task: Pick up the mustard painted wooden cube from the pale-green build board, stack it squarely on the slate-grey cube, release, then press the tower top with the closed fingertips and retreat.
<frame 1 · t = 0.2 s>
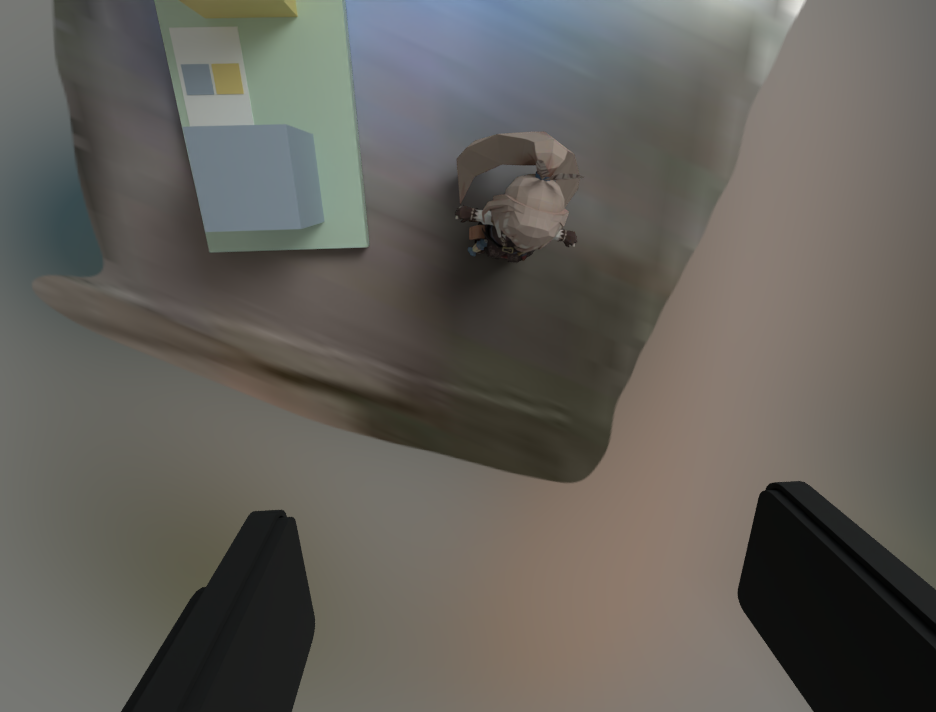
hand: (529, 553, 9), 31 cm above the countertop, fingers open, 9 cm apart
toy: (506, 201, 37), on the countertop
base brick: (277, 180, 34), point 1 cm above the countertop, touching board
board: (268, 90, 33), on the countertop
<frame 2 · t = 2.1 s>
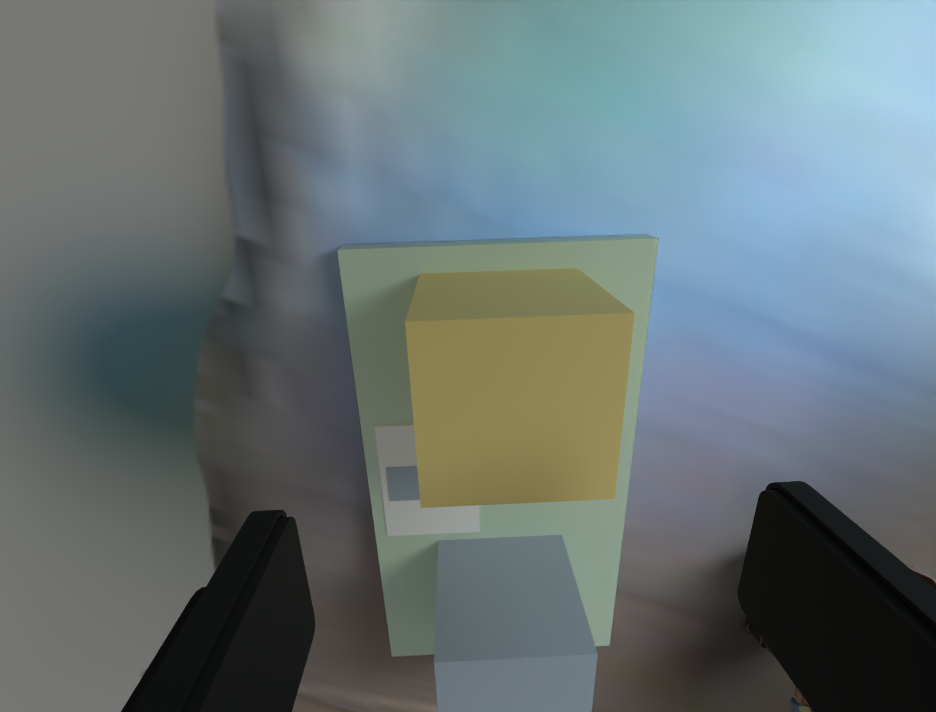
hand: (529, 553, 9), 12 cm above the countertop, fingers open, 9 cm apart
toy: (800, 573, 26), on the countertop
base brick: (500, 583, 24), point 1 cm above the countertop, touching board
brick: (499, 344, 19), point 1 cm above the countertop, touching board
board: (497, 471, 22), on the countertop
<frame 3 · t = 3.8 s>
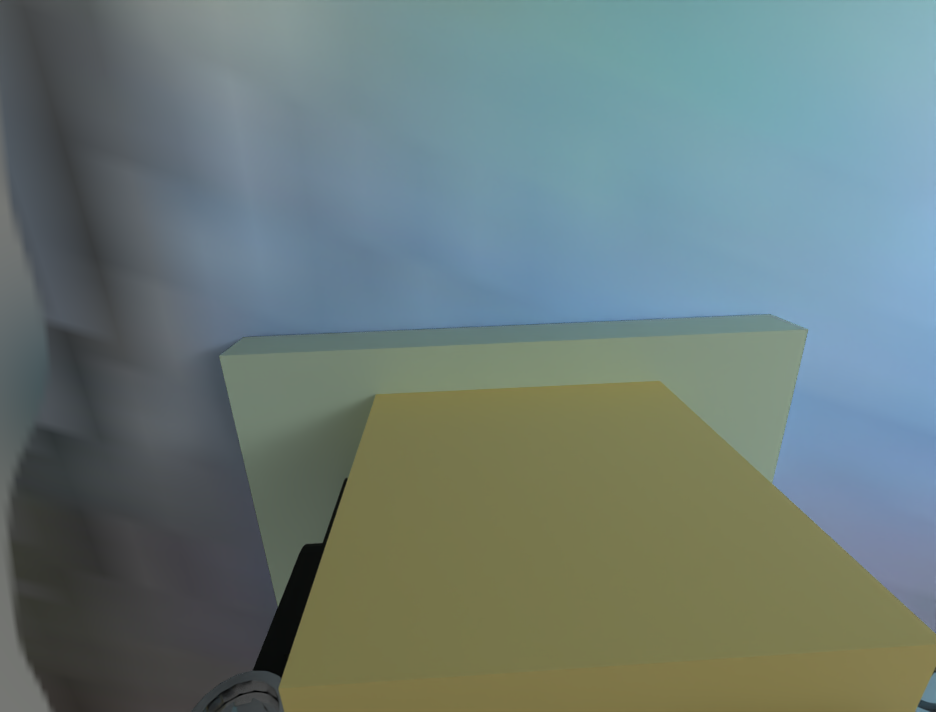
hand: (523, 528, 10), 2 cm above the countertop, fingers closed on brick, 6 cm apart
brick: (518, 505, 11), point 1 cm above the countertop, touching board, gripper
board: (511, 666, 14), on the countertop
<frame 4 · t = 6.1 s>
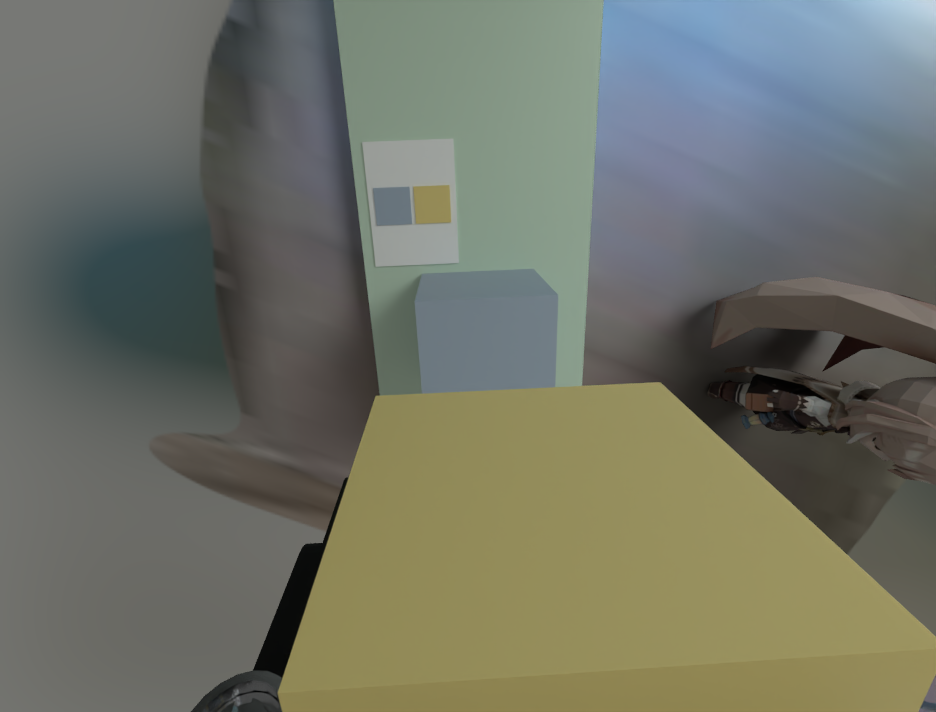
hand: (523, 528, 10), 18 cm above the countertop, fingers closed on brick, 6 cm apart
toy: (754, 335, 28), on the countertop
base brick: (479, 324, 26), point 1 cm above the countertop, touching board
brick: (518, 506, 11), point 17 cm above the countertop, touching gripper
board: (474, 211, 25), on the countertop
when the fingers open (9 cm above the countertop, at t = 8.6 s): brick drops 1 cm, resting on base brick.
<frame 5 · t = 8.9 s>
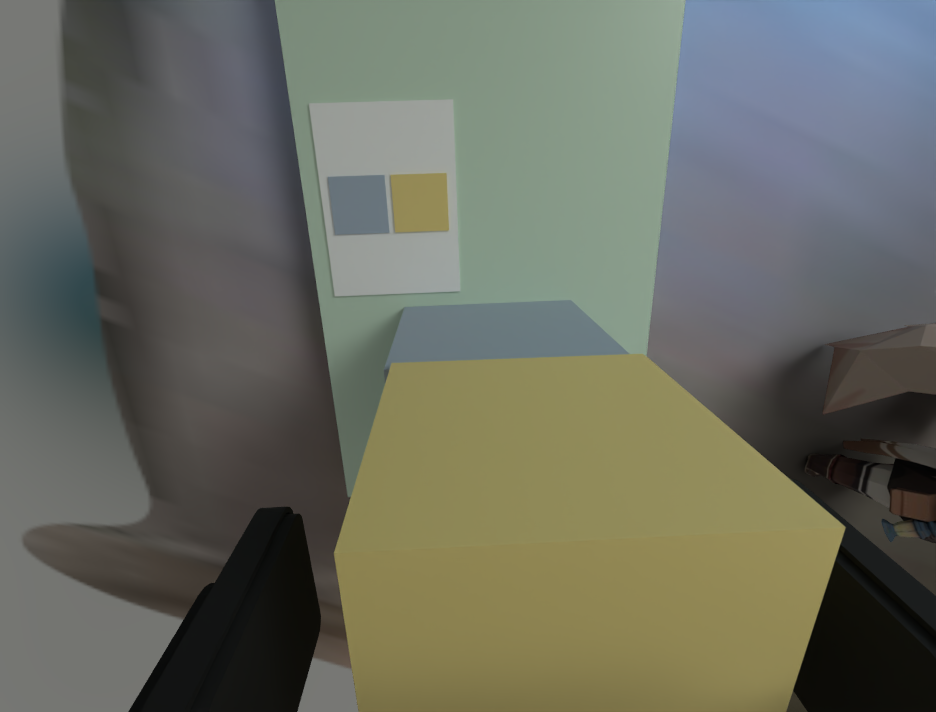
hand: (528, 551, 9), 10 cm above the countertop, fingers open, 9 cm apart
toy: (874, 390, 20), on the countertop
base brick: (489, 380, 18), point 1 cm above the countertop, touching board, brick
brick: (516, 466, 12), point 7 cm above the countertop, touching base brick
board: (484, 214, 17), on the countertop
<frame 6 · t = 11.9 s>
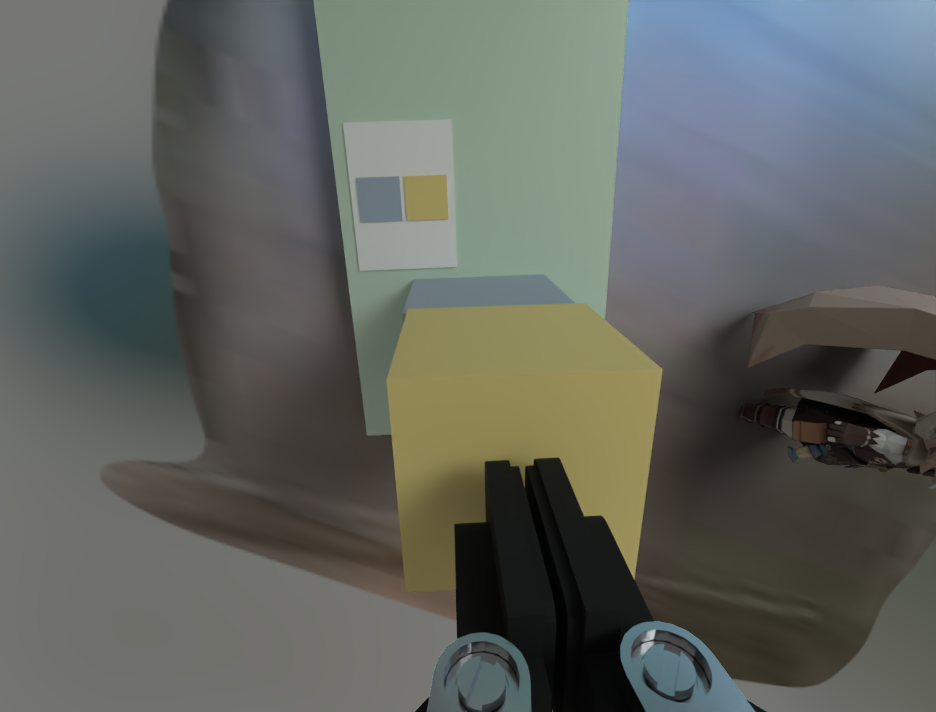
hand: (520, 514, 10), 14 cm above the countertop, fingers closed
toy: (794, 351, 25), on the countertop
base brick: (480, 338, 22), point 1 cm above the countertop, touching board, brick
brick: (497, 387, 17), point 7 cm above the countertop, touching base brick
board: (476, 206, 21), on the countertop
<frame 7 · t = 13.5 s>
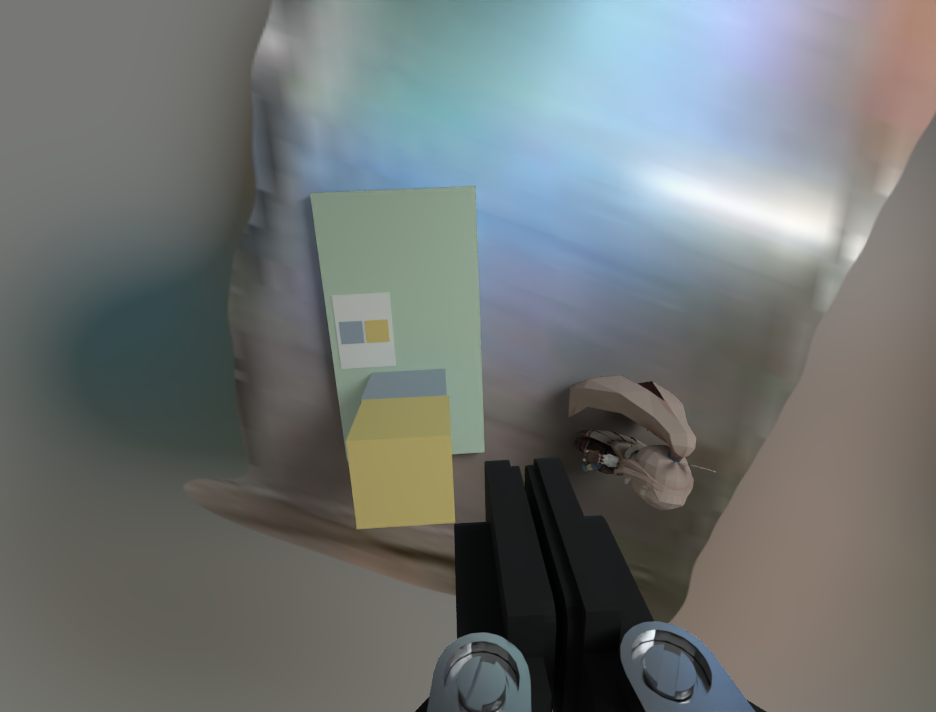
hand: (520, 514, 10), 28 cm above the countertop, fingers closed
toy: (603, 406, 42), on the countertop
base brick: (411, 404, 39), point 1 cm above the countertop, touching board, brick
brick: (408, 436, 33), point 7 cm above the countertop, touching base brick
board: (406, 331, 38), on the countertop
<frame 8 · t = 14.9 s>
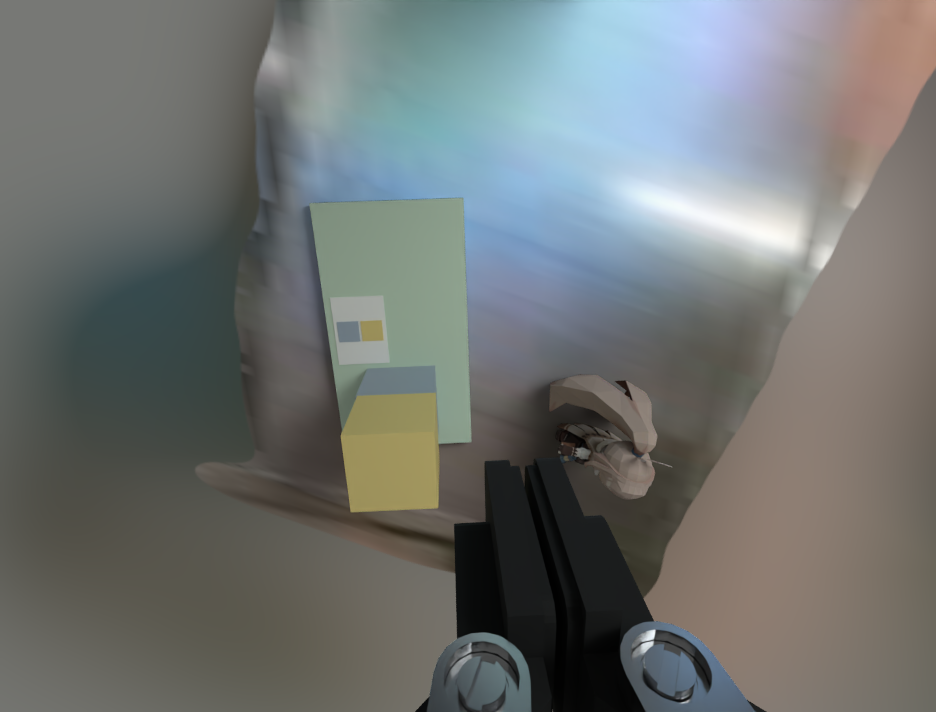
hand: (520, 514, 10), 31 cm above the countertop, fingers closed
toy: (583, 401, 45), on the countertop
base brick: (404, 397, 42), point 1 cm above the countertop, touching board, brick
brick: (399, 428, 36), point 7 cm above the countertop, touching base brick
board: (399, 330, 41), on the countertop
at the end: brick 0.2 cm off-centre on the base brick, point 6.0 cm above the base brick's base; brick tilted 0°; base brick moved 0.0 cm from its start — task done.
